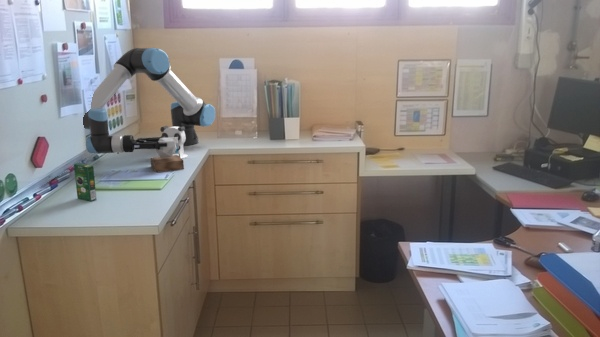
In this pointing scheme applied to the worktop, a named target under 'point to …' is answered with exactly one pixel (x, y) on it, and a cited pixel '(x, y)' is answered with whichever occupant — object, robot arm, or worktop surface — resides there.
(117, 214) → the worktop surface
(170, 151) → the die
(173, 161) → the plinth
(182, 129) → the panda figurine
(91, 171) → the coffee box
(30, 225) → the worktop surface
